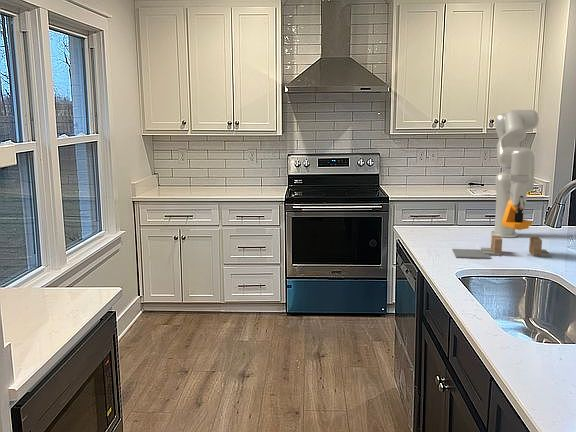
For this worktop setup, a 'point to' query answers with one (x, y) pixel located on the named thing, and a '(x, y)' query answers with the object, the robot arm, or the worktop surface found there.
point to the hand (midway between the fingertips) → (517, 220)
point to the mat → (470, 253)
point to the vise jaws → (534, 247)
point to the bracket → (510, 218)
